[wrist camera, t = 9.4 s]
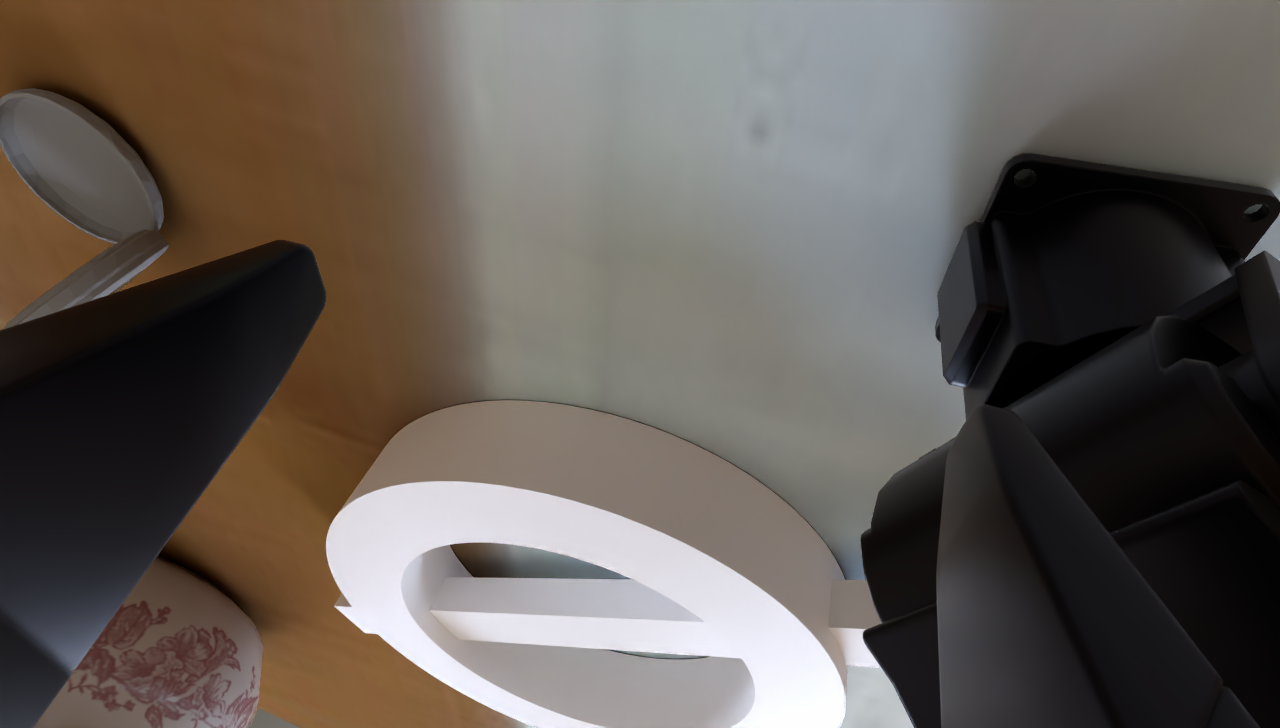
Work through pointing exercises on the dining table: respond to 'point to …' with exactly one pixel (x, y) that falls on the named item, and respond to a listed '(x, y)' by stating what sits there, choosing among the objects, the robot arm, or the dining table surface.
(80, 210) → the pocket watch
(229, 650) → the chamber pot
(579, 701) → the ring with crossbar
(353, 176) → the dining table surface
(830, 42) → the dining table surface
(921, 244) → the dining table surface
